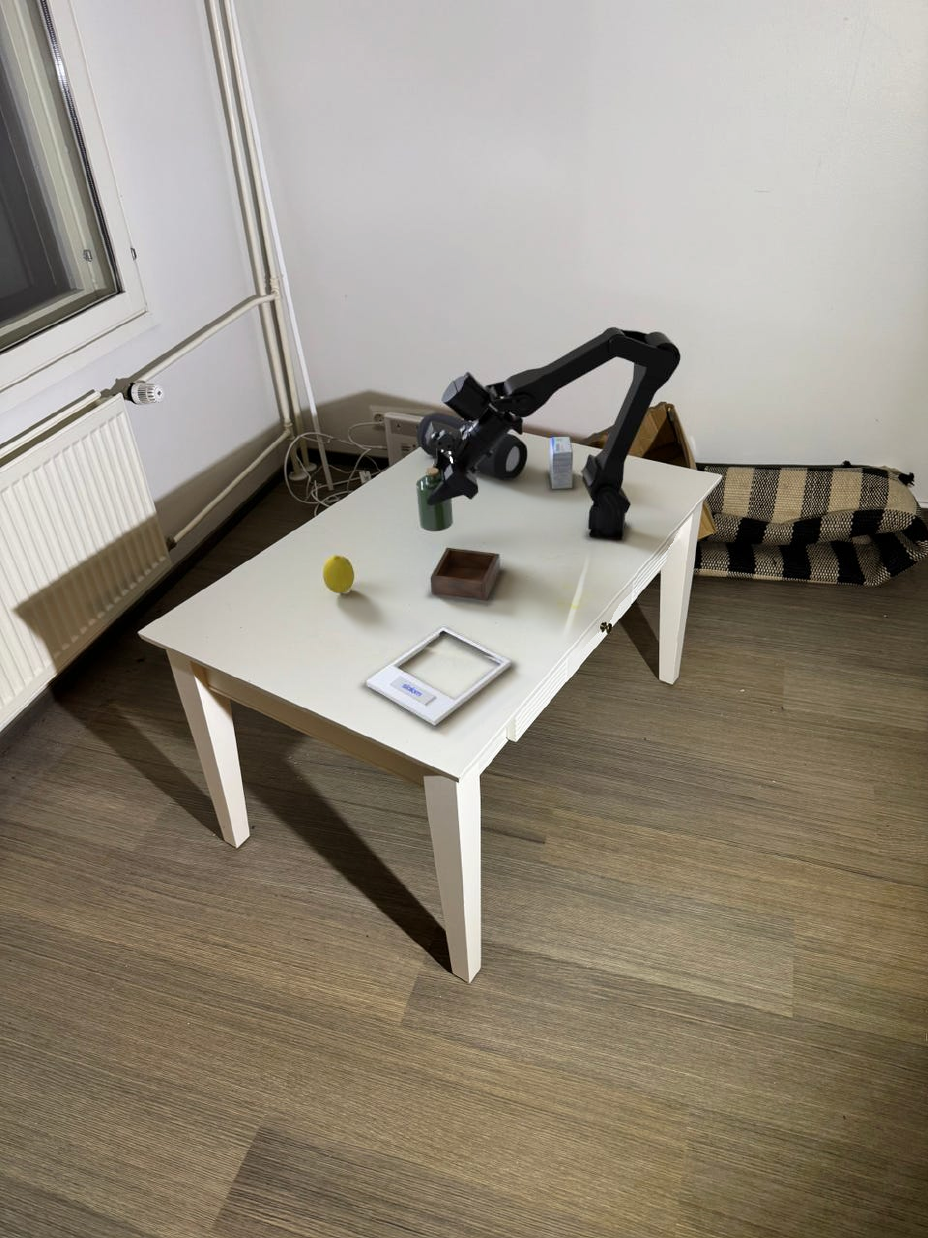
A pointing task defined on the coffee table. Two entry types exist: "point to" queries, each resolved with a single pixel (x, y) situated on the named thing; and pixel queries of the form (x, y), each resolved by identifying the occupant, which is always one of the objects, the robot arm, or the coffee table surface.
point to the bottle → (434, 515)
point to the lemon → (338, 574)
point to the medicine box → (561, 462)
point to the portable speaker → (500, 465)
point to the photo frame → (421, 695)
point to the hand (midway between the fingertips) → (427, 495)
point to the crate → (465, 574)
